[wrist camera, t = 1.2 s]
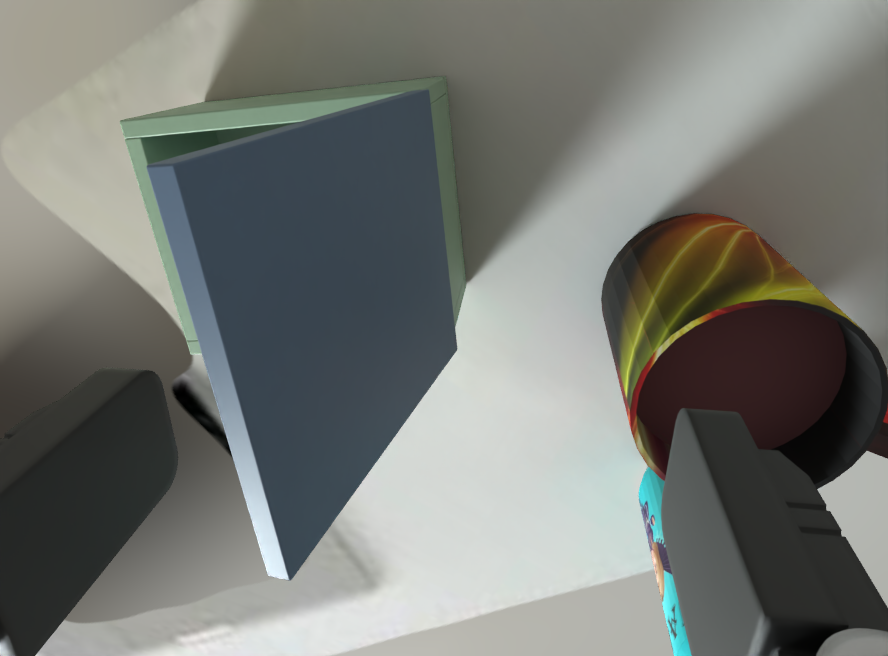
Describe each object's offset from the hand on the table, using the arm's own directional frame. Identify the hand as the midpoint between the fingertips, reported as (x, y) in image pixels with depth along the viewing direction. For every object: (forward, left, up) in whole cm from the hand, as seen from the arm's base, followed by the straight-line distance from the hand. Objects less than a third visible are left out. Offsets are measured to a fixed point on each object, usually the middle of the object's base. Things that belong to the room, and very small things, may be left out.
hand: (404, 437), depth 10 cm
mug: (-6, +14, -27) cm, 31 cm away
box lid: (+5, 0, -12) cm, 12 cm away
